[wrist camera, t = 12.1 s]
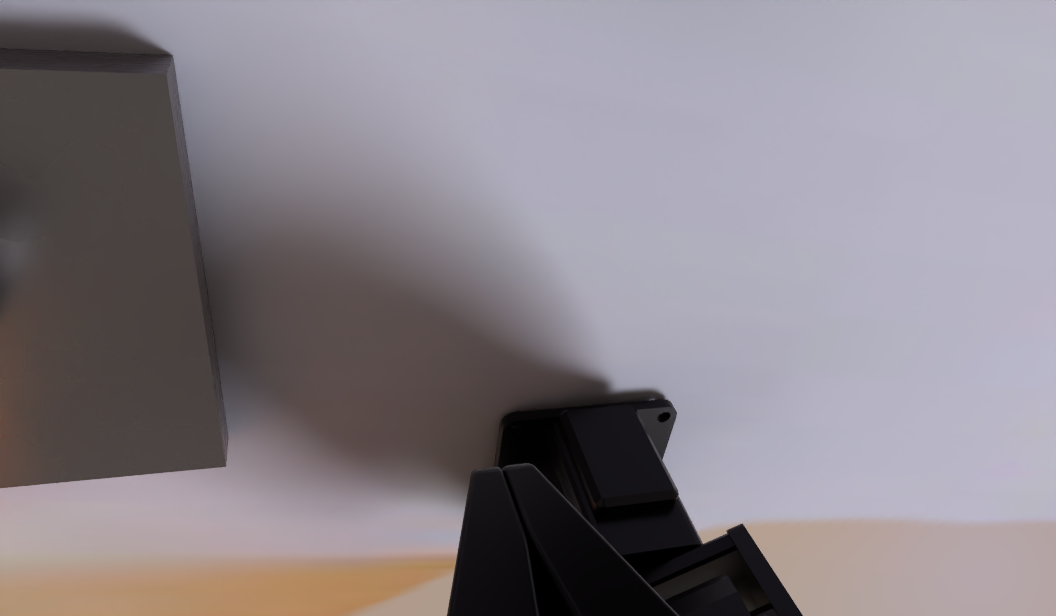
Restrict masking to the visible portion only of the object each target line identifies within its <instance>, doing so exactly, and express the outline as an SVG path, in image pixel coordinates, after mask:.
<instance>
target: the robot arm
mask: <svg viewBox="0 0 1056 616" xmlns="http://www.w3.org/2000/svg"><path fill="white" fill-rule="evenodd" d="M661 413H662V414H661ZM676 414H677V412H676V410H675V408H674V407H673V405H672V403H671V402H670V401H668V400H651V401H639V402H628V403H616V404H604V405H593V406H581V407H569V408H558V409H546V410H534V411H523V412H514V413H510V414H508V415H506V416H505V417H504V418H503V419H502V421H501V423H500V429H499V436H498V443H497V450H496V457H495V464H494V467H491V468H483V469H476V470H474V471H472V473H471V477H470V483H469V489H468V494H467V500H466V506H465V512H464V518H463V524H462V530H461V536H460V542H459V548H458V554H457V560H456V565H455V571H454V578H453V583H452V589H451V596H450V601H449V607H448V613H447V616H803V615H802V614H801V612H800V611H799V609H798V608H797V606H796V605H795V603H794V602H793V600H792V599H791V597H790V595H789V594H788V593H787V591H786V589H785V588H784V586H783V585H782V583H781V582H780V580H779V579H778V577H777V576H776V574H775V573H774V571H773V570H772V568H771V567H770V565H769V563H768V562H767V560H766V559H765V557H764V556H763V554H762V553H761V551H760V550H759V548H758V547H757V545H756V544H755V542H754V540H753V539H752V537H751V536H750V534H749V533H748V531H747V530H746V528H745V527H744V525H743V524H740V525H738V526H735V527H733V528H731V529H729V530H727V534H725V535H723V536H720V537H718V538H716V539H714V540H712V541H709V542H707V543H705V544H703V543H702V541H701V539H700V537H699V535H698V533H697V531H696V529H695V527H694V525H693V523H692V521H691V520H690V518H689V516H688V514H687V512H686V510H685V508H684V506H683V504H682V502H681V500H680V498H679V496H678V495H679V494H678V490H677V488H676V486H675V484H674V482H673V480H672V478H671V476H670V474H669V472H668V470H667V469H666V467H665V465H664V463H663V461H662V459H663V456H664V453H665V450H666V447H667V444H668V440H669V437H670V434H671V431H672V428H673V425H674V422H675V419H676ZM517 425H519V426H518V427H515V428H513V427H514V426H517Z"/></svg>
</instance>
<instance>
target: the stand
mask: <svg viewBox="0 0 1056 616" xmlns="http://www.w3.org/2000/svg"><path fill="white" fill-rule="evenodd" d="M227 449H228V432H227V425H226V418H225V411H224V404H223V397H222V390H221V383H220V377H219V370H218V363H217V356H216V349H215V342H214V335H213V328H212V321H211V314H210V308H209V301H208V294H207V287H206V280H205V273H204V266H203V259H202V252H201V245H200V239H199V232H198V225H197V218H196V211H195V204H194V197H193V190H192V183H191V177H190V170H189V163H188V156H187V149H186V142H185V135H184V128H183V121H182V114H181V108H180V101H179V94H178V87H177V80H176V73H175V66H174V59H173V56H172V55H146V54H121V53H96V52H71V51H46V50H21V49H0V488H7V487H17V486H28V485H38V484H49V483H59V482H69V481H80V480H90V479H101V478H111V477H122V476H132V475H143V474H153V473H164V472H174V471H185V470H195V469H206V468H216V467H226V461H227Z"/></svg>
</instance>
